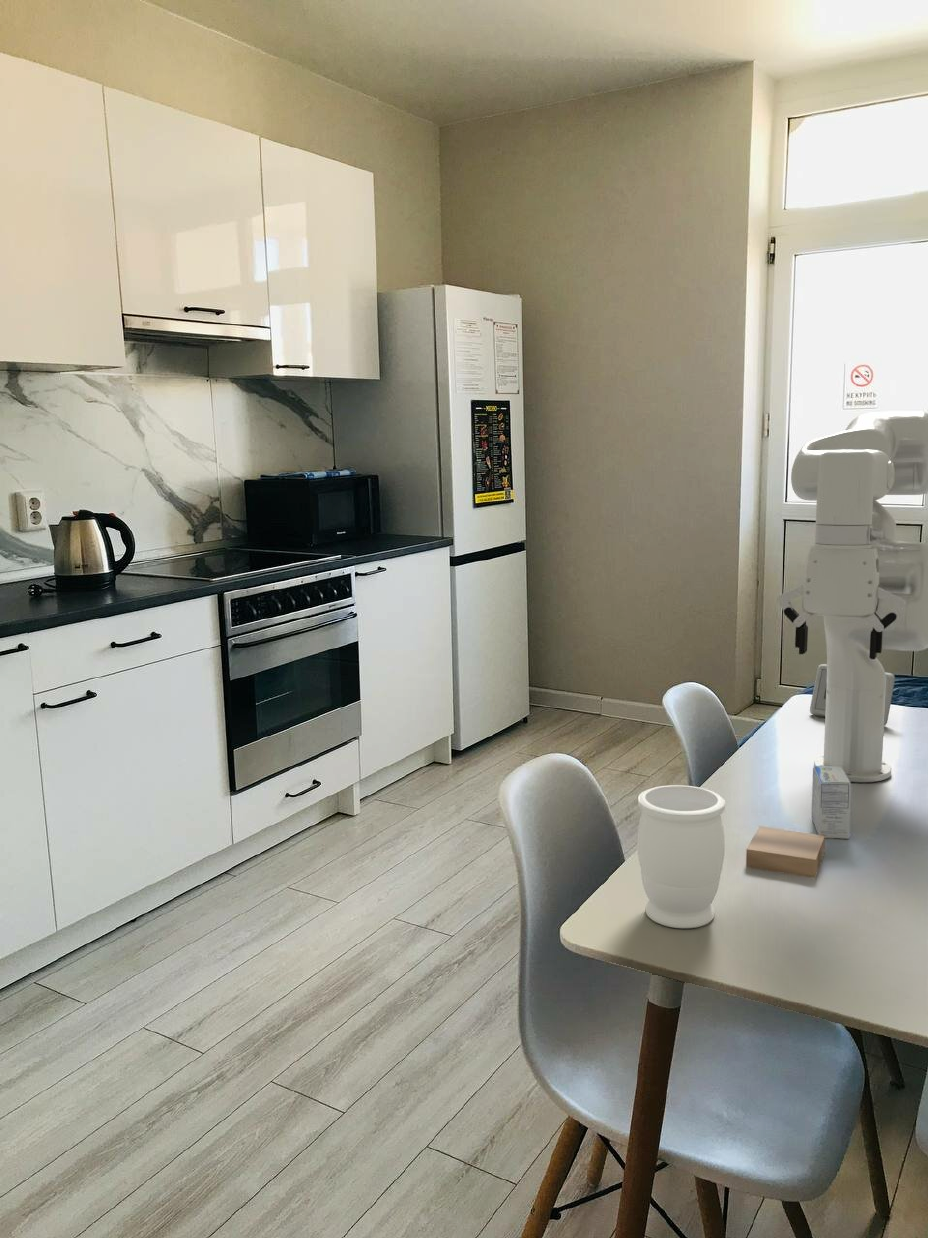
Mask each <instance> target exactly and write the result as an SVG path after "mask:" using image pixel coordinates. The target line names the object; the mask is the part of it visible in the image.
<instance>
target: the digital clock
mask: <svg viewBox="0 0 928 1238" xmlns="http://www.w3.org/2000/svg"><path fill="white" fill-rule="evenodd" d="M885 674H886V692H885V712H884V727H885V726H887V724H888V719H889V714H890V709H891V704H892V699H893V693H894V687H895V681H896V676H895V674H893V673H891V672H886V671H885ZM813 685H814V686H813V691H812V696H811V702H810V707H809V713H810V714H811V715H814V716H816V717H817V716H819V717H822V718H824V717H825V712H826V687H827V663H821V664H819V665H818V666H817V671H816V674H815V680H814V684H813Z"/></svg>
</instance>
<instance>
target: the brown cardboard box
mask: <svg viewBox="0 0 928 1238" xmlns="http://www.w3.org/2000/svg"><path fill="white" fill-rule="evenodd" d="M825 840H826V838H825V836H824V835H818V833H817V834H815V833H808V832H803V831H795V830H787V829H783V828H782V829H781V828H775V827H769V826H768V827H766V826H762V825H761V826H758V828H757V829H756V831H755V833H754V835H753V836H752V839H751V840H750V842H749V843H748V846H746V847H747V848H746V851H745V852H746V853H745V854H746V856H745V862H746V863H745V867H746V868H751V869H756V870H764V871H768V872H769V871H770V872H775V873H781V874H786V875H794V876H799V877H805V878H811V879H812V878H813V879H816V877H817V874H818V872H819V869H820V866H821V864H820V863H821V862H823V861H822V860H823V858H824V856H823V855H825V847H826V846H825V844H826V843H825V842H826V841H825Z"/></svg>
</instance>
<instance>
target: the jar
mask: <svg viewBox="0 0 928 1238" xmlns="http://www.w3.org/2000/svg"><path fill="white" fill-rule="evenodd" d="M637 799H638V801H637V803H638V804H637V805H638V808H639V809H640V811H641V814H640V818H639V823H638V828H637V829H638V830H637V831H638V832H637V856H638V862H639V867H640V874H641V875H640V876H641V881H642V886H643V889H644V892H645V894H646V896H647V898H648V900H647V903H646V905H645V913H646V915H647V917H649V919H650V920H652V921H653V922H655V923H657V924H659V925H662V926H665V927H668V928H669V927H670V928H675V929H693V928H699V927H702V926H706V925H707V924H709V923H711V922H712V920H713V919H714V917H715V908H714V906H713V905H712V903H713V901H714V900H715V898H716V895H717V892H718V890H719V886H720V880H721V874H722V870H723V865H724V858H725V845H726V844H725V830H724V825H723V820H722V819H723V818H722V817H721V815H722V814H723V812H725V808H726V801H725V798H724V796H722V795H721V794H719V793H717V792H716V791H713V790H711V789H709V788H708V789H707V788H703V787H699V786H694V785H693V786H692V785H685V784H684V785H683V784H682V785H681V784H674V785H672V784H669V785H661V786H656V787H654V786H653V787H651V788H648V789H646V790H644V791H642V792H641V793H639V794H638V797H637Z"/></svg>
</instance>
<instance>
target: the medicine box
mask: <svg viewBox="0 0 928 1238" xmlns="http://www.w3.org/2000/svg"><path fill="white" fill-rule="evenodd" d="M811 789H812V792H811V794H812V795H811V819H812V822H813V825H814V827H815V829H816V832H817V835H824V836H825V839H833V838H837V840H841V839H842V840H849V839H850V838H851V810H852V809H851V805H852V782H850V781H849V779H848V777H847V775H846V773H845V771H844V769H843V768H842V767H837V766H814V765H813V768H812V787H811ZM838 838H839V839H838Z"/></svg>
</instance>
